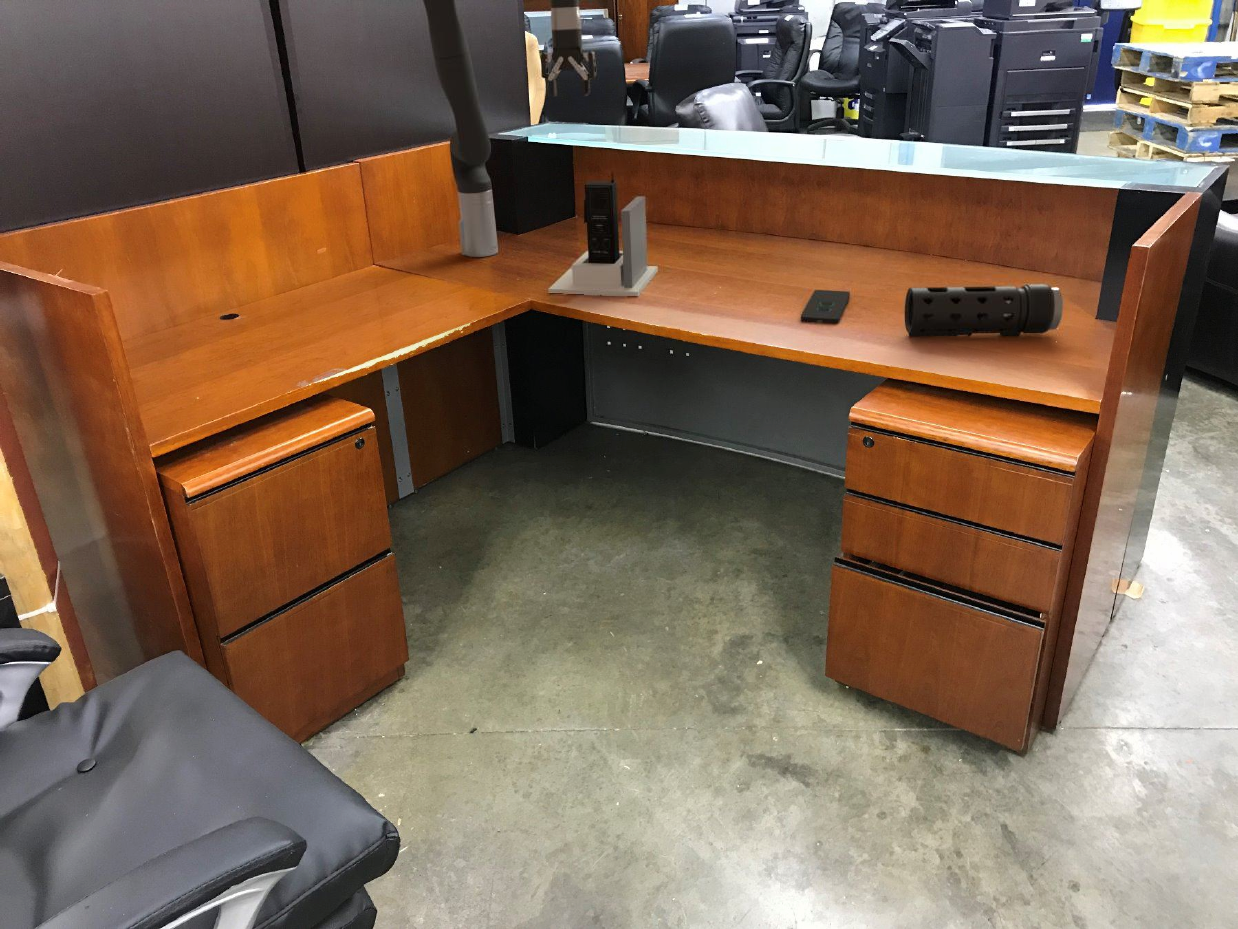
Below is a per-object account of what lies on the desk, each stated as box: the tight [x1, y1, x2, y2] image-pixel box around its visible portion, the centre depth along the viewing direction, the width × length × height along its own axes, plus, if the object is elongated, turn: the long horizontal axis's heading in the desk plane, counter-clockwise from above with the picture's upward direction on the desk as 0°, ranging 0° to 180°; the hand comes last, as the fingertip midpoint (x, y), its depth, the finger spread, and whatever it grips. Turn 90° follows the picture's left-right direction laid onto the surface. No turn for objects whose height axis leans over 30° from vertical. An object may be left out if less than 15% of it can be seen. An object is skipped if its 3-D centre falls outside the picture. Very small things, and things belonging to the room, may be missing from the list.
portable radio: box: [583, 171, 620, 264], centre depth 230 cm, size 8×6×25 cm
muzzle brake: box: [904, 283, 1064, 338], centre depth 189 cm, size 10×28×10 cm, turn 85°
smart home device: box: [800, 289, 851, 325], centre depth 210 cm, size 8×2×20 cm
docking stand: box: [547, 196, 659, 297], centre depth 232 cm, size 22×22×19 cm
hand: (570, 95), depth 248 cm, fingers open, 8 cm apart
